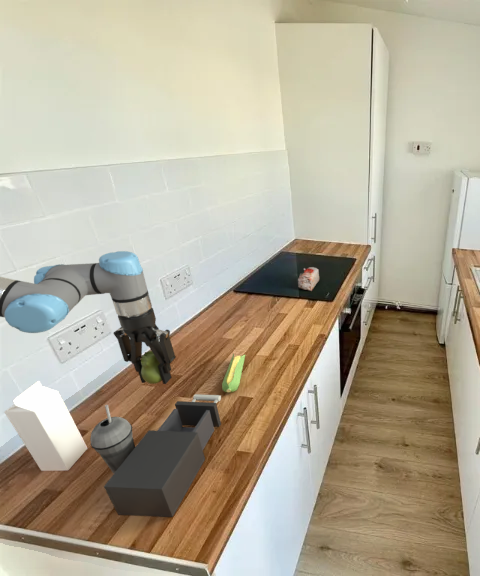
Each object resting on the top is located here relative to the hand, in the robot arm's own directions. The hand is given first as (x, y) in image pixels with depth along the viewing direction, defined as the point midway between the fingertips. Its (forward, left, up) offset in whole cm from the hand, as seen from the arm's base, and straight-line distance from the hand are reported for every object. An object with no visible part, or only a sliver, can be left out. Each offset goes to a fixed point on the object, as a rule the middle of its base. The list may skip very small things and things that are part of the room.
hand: (156, 380), depth 94 cm
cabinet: (+17, -26, -7) cm, 32 cm away
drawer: (+17, -13, -6) cm, 22 cm away
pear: (0, 0, 0) cm, 1 cm away
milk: (-10, -21, -7) cm, 24 cm away
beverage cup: (+6, -23, -7) cm, 24 cm away
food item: (+26, +81, -7) cm, 86 cm away
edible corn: (+17, +11, -7) cm, 22 cm away
